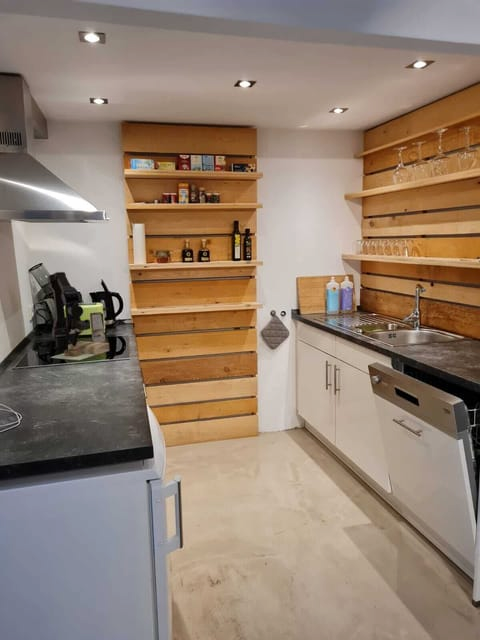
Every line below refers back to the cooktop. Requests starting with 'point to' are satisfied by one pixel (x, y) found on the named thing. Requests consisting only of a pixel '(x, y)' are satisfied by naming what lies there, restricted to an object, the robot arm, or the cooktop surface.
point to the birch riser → (90, 347)
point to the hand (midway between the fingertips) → (74, 346)
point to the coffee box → (97, 327)
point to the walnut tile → (73, 352)
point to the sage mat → (62, 356)
